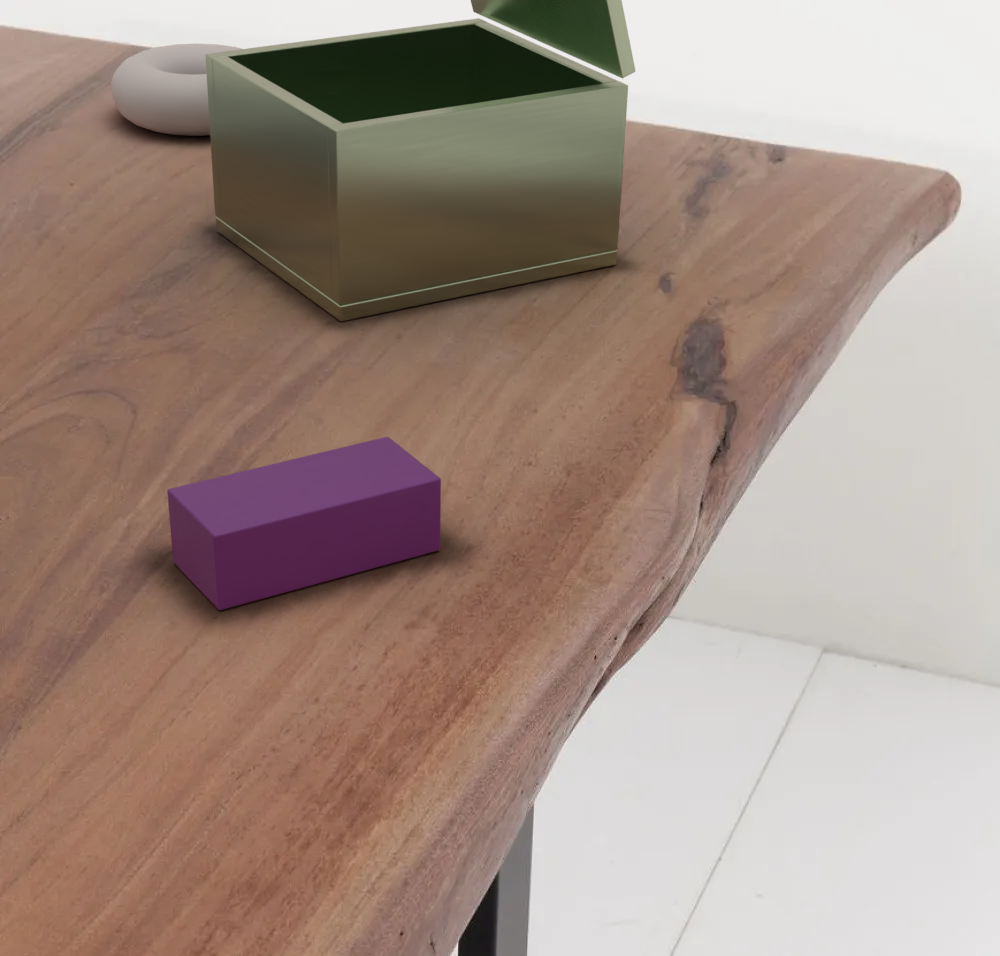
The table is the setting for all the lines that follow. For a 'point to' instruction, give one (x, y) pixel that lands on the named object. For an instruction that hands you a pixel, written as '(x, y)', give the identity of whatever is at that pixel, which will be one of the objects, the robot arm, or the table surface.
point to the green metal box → (415, 163)
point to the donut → (166, 88)
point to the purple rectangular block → (304, 521)
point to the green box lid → (570, 28)
